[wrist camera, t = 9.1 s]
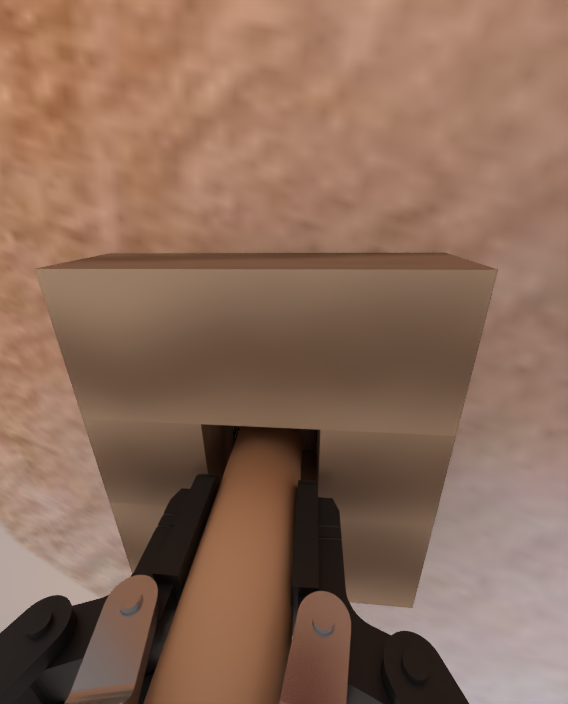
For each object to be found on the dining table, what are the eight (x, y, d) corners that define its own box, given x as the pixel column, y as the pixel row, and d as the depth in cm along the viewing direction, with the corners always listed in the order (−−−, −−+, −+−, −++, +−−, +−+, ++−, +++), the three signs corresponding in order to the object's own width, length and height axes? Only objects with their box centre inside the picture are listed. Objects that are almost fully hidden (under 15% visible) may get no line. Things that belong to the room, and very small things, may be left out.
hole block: (108, 253, 14) (34, 268, 10) (444, 252, 13) (497, 269, 9) (167, 515, 20) (135, 582, 17) (393, 531, 19) (412, 607, 15)
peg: (235, 411, 14) (90, 774, 5) (302, 414, 14) (279, 803, 5) (240, 464, 15) (129, 833, 6) (302, 467, 15) (282, 859, 6)
